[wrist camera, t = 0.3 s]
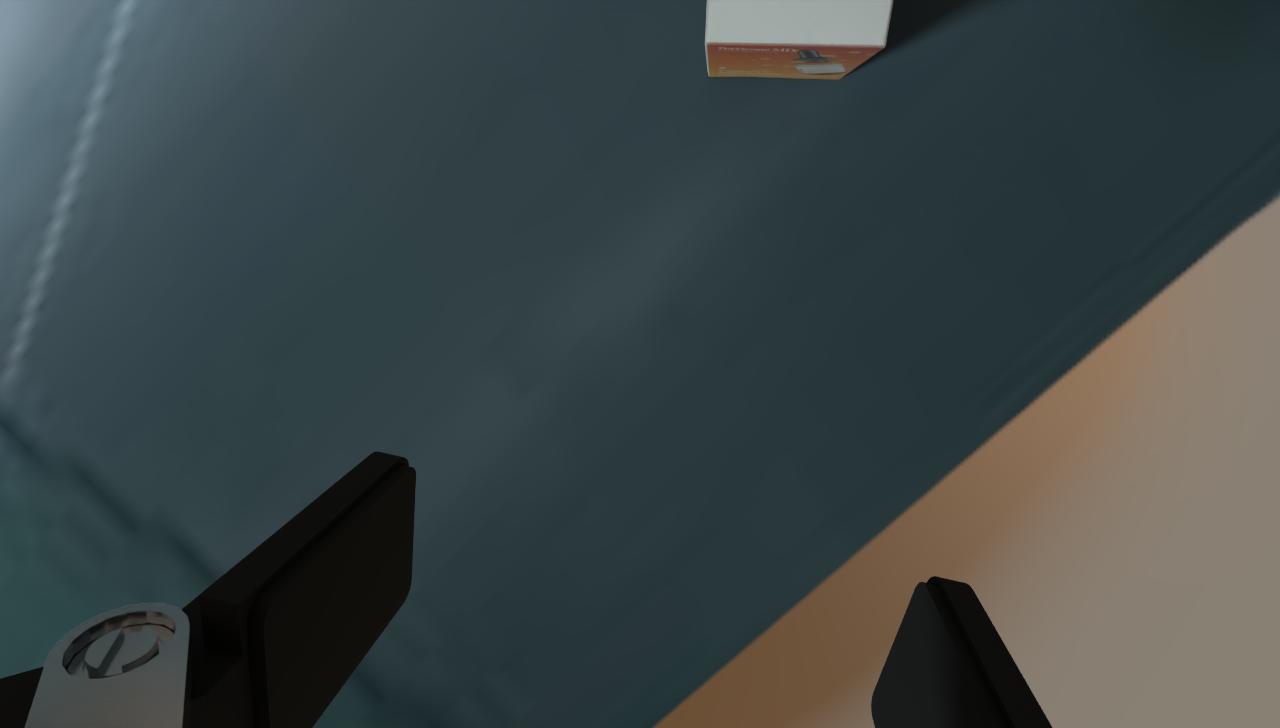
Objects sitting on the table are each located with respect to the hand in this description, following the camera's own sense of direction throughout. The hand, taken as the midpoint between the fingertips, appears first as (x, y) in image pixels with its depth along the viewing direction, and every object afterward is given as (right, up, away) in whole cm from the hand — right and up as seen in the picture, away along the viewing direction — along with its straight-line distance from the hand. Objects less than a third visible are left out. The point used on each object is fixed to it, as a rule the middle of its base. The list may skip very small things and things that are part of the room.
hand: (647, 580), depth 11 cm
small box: (+8, +24, +24) cm, 35 cm away
